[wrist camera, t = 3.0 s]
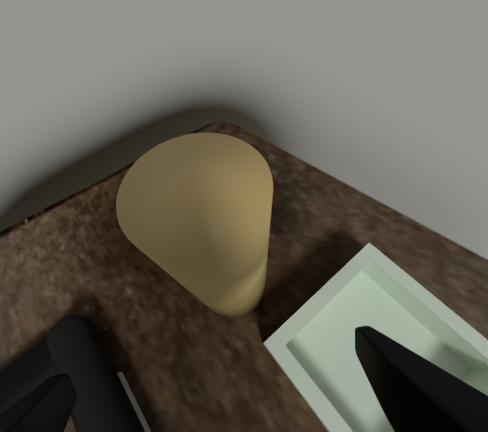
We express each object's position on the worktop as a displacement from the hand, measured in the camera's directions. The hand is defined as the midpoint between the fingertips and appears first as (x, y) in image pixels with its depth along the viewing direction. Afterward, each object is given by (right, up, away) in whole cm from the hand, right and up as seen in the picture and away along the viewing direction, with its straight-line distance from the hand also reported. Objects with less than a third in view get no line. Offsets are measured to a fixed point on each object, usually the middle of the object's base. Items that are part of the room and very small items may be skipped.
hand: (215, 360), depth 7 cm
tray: (+10, -6, +10) cm, 15 cm away
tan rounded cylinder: (0, -2, +13) cm, 13 cm away
